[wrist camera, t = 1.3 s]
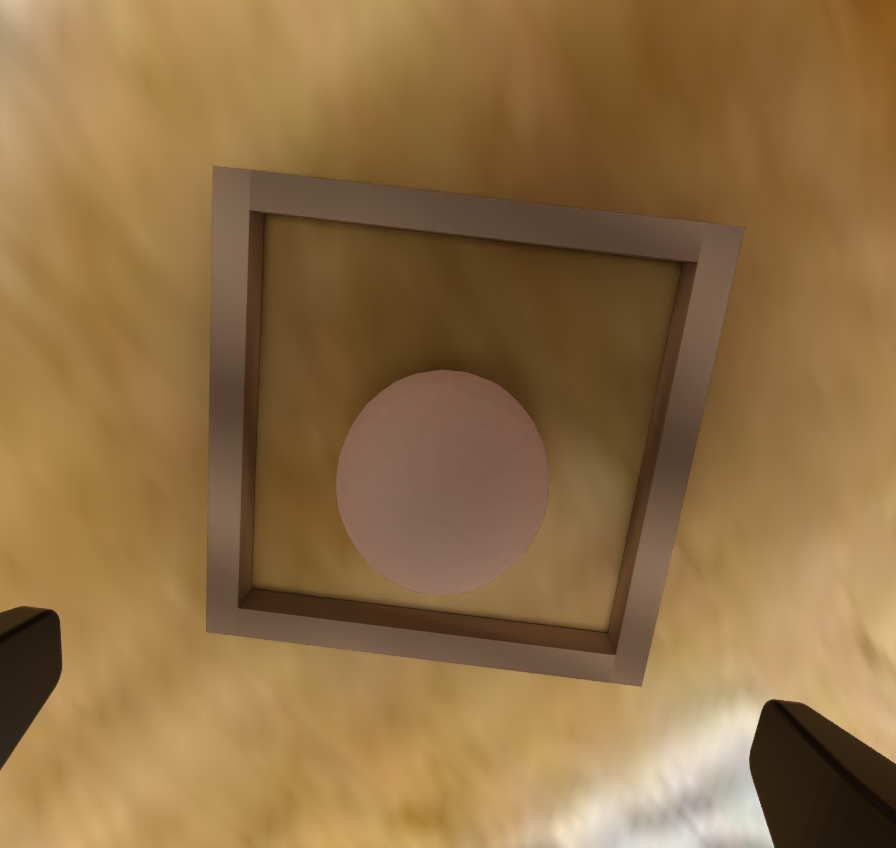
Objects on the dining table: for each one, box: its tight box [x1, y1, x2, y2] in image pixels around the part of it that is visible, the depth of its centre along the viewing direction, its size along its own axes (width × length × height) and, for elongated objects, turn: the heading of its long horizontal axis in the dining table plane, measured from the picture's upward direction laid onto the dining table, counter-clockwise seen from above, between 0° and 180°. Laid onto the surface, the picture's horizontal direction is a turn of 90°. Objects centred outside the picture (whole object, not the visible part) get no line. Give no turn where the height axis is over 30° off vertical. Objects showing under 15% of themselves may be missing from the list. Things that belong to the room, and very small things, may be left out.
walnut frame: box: [206, 166, 745, 687], centre depth 18 cm, size 14×14×1 cm
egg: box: [336, 369, 549, 595], centre depth 15 cm, size 5×5×7 cm
